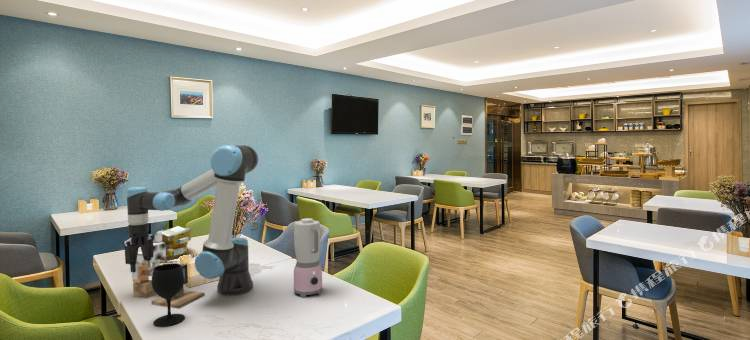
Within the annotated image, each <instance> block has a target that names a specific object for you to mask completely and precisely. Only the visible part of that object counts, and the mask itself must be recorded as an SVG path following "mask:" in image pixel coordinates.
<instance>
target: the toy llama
mask: <svg viewBox="0 0 750 340" xmlns="http://www.w3.org/2000/svg"><path fill="white" fill-rule="evenodd" d="M148 234H149V235H154V239H153V240H154V243H153V255H154V256H153V258H152V259H151V260H149V265H150V266H149V270H154V268H155V267H157V266H159V265H161V262H160V259H162V258H165V257H166V246H165V243H164V242H162V233H161V232H153V234H151V233H148ZM143 260H144V259H143V255H142V251H141V250H138V255H137V262H136V264H140V263H142V261H143Z"/></svg>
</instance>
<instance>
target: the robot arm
mask: <svg viewBox="0 0 750 340" xmlns="http://www.w3.org/2000/svg"><path fill="white" fill-rule="evenodd" d="M258 164H259V156H258V153H257V151H256V150H255V149H254V148H253V147H251V146H249V145H235V144H227V145H222V146H219V147H218V148H216V149H215V150H214V151H213V152H212V154H211V156H210V167H211V168H212V169H209V170H208V171H206V172H205V173H203V174H201V175H199V176H197V177H195V178H193V179H192V180H190V181H188V182H186V183H185V184H183V185H181V186H180V187H177V188H176V189H171V190H165V191H158V192H156V191H149V190H148V188H147V187H146V186H133V187H128V189H126V204H127V205H126V206H127V223H128V225H127V229H128V230H127V231H128V234H129V237H128V239H127V240H124V241H123V242H122V244H123V246H124V264H125V265H129V266H130V273H131V279H132V280H133V279H135V280H138V279H139V275H138V264H136V262H137V255H138V251H139V249H140V251H142V255H143V259H144V260H143V261H142V263H144V264H148V270H149V266H150V265H149V260H151V259H152V258H153V256H154V255H153V240H154V234H152V235H149V234H150V233H149V231H150V226H149V223H148V222H149V211H161V212H163V211H170V210H172V209H173V208H176V207H180V206H186V205H188V204H190V203H192V201H193V200H194V199H196V198H198V197H200V196H201V195H203V194H205V193H207V192H209V191H211V190H212V189H215V194H214V200H213V206H212V213H211V219H210V225H209V232H208V238H207V239H206V240H205V241H204V242H203V244H202V251H201V252H199V253H197V254H196V256H195V259H194V267H195V269H196V272H198V274H199V275H200V276H201V277H202V278H204V279H208V280H212V279H216V278H219V280H218V283H217V286H216V292H217V294H219V295H222V296H236V295H242V294H246V293H249V292H250V291H252V290H253V289H254V281H253V279H252V276H251V273H250V271H249V270H250V269H249V265H250V264H249V261H250V260H249V243H248V242H249V241H248V239H247V238H246V237H233V236H232V234H233V228H234V223H235V216H236V210H237V204H238V199H239V193H240V192H239V191H240V186H241V184H243V183H244V182H245V178H246V175H247V174H248V173H250V172H252V171H254V170H255V169H256V168H257V166H258Z"/></svg>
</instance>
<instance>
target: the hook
mask: <svg viewBox="0 0 750 340" xmlns="http://www.w3.org/2000/svg"><path fill="white" fill-rule="evenodd" d="M152 274H153V270H152V269H151V270H148V264H144V263H140V264H138V275H139V279H138V280H135V279H132V283H134V282H135V283H142V282H144V281H147V280H150V277H152Z"/></svg>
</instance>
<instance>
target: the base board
mask: <svg viewBox="0 0 750 340" xmlns="http://www.w3.org/2000/svg"><path fill="white" fill-rule="evenodd" d="M205 293H206V292H203V291H193V290H185V289H184V296H183V297H181V298H179V299H177V298H174V297H173V298H172V299H171V305H170V307H171V308H175V309H182V308H183V307H185V306H187V305H189V304H191V303H193V302H194V301H196V300H199V299H200V298H202V297H203V298H204V297H205V296H206V295H205ZM151 305H154V306H160V307H167V301H166V299H164V298H162V297H160V296H159V297H158V298H156V299H154V300H152V301H151Z"/></svg>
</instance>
